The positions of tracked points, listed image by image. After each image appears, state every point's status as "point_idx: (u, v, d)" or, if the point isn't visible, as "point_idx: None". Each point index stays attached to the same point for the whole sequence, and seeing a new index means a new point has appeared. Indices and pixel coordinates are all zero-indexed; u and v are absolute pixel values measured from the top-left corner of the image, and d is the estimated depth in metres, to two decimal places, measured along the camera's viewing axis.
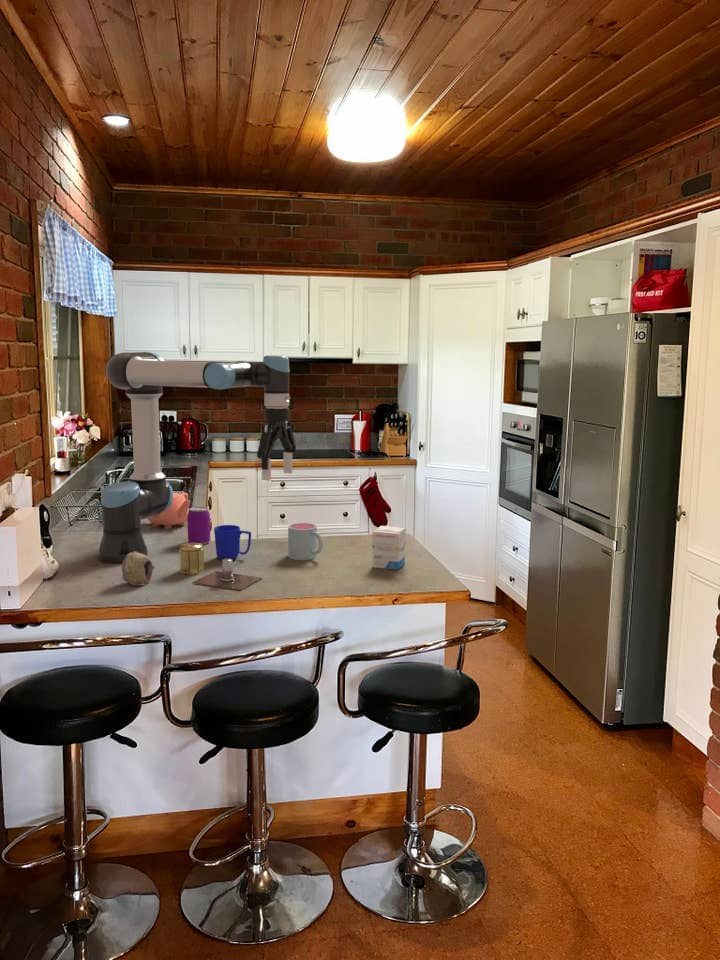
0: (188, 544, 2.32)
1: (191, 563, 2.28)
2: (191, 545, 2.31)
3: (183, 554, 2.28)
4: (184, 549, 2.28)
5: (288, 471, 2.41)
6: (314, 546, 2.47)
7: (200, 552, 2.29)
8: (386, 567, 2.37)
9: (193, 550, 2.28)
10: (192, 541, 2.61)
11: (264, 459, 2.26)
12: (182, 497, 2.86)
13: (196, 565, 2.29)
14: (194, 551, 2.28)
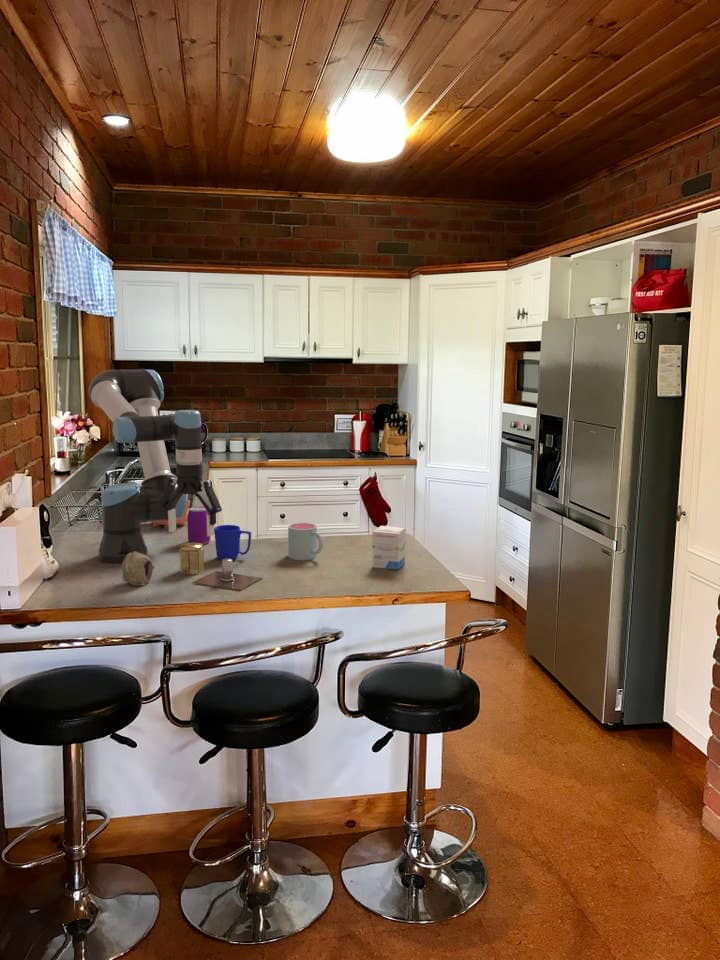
0: (188, 544, 2.32)
1: (191, 563, 2.28)
2: (191, 545, 2.31)
3: (183, 554, 2.28)
4: (184, 549, 2.28)
5: None
6: (314, 546, 2.47)
7: (200, 552, 2.29)
8: (386, 567, 2.37)
9: (193, 550, 2.28)
10: (192, 541, 2.61)
11: None
12: None
13: (196, 565, 2.29)
14: (194, 551, 2.28)
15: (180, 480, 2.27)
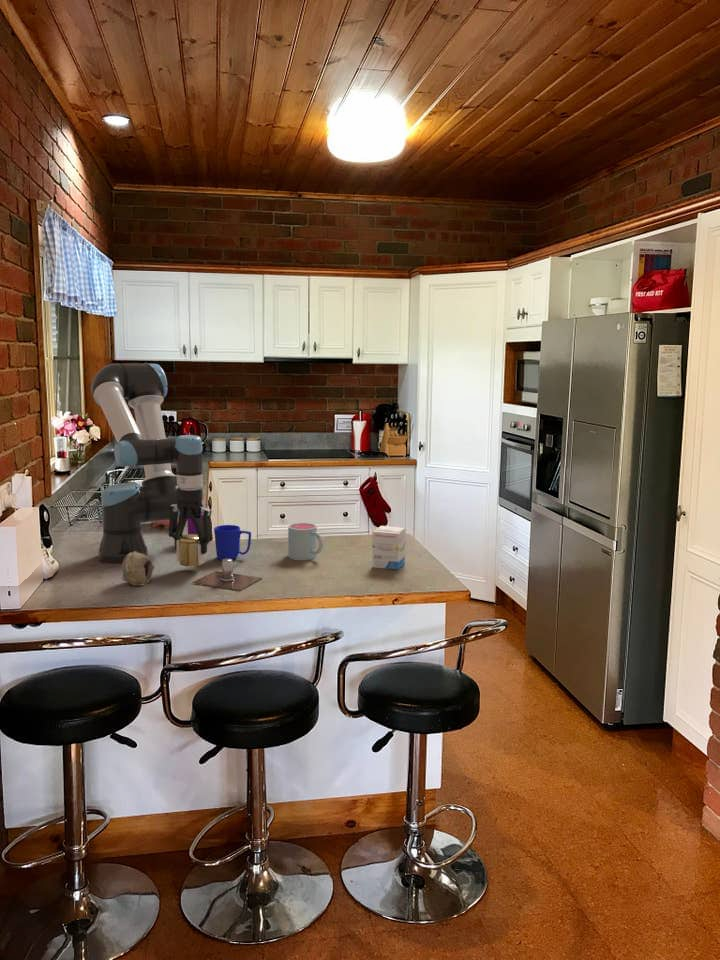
0: (187, 536, 2.32)
1: (190, 555, 2.28)
2: (190, 537, 2.31)
3: (182, 546, 2.28)
4: (183, 541, 2.28)
5: None
6: (314, 546, 2.47)
7: None
8: (386, 567, 2.37)
9: (192, 542, 2.28)
10: None
11: None
12: None
13: (195, 557, 2.29)
14: (193, 543, 2.28)
15: (180, 504, 2.29)
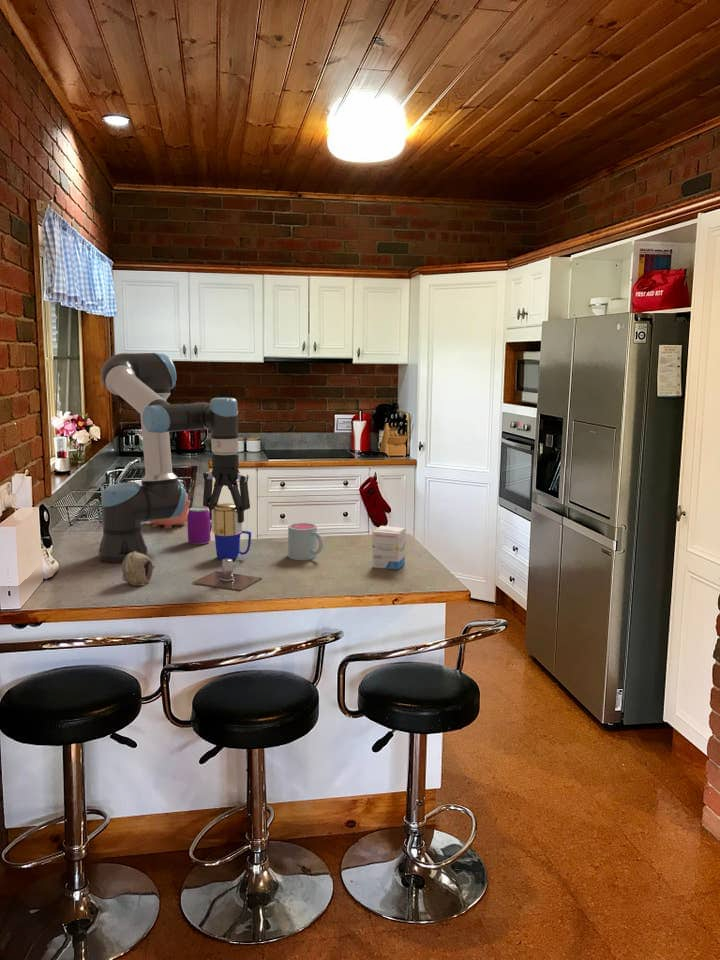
0: (223, 504, 2.20)
1: (226, 524, 2.16)
2: (226, 505, 2.19)
3: (218, 514, 2.16)
4: (219, 509, 2.16)
5: None
6: (314, 546, 2.47)
7: None
8: (386, 567, 2.37)
9: (228, 510, 2.16)
10: (192, 541, 2.61)
11: None
12: None
13: (232, 526, 2.17)
14: (230, 511, 2.16)
15: (215, 470, 2.17)
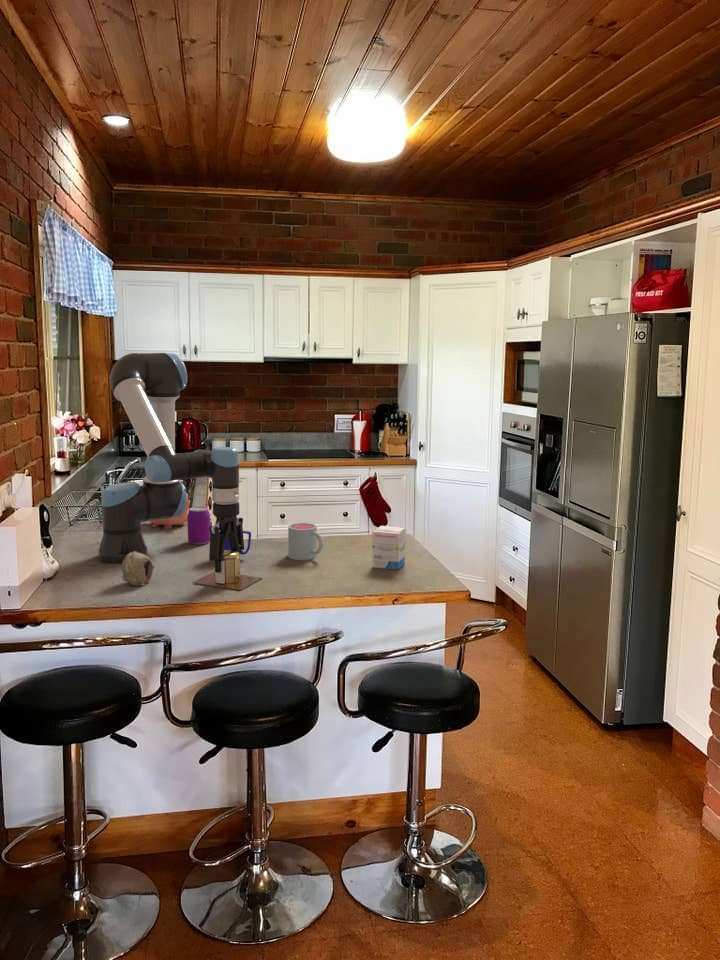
0: None
1: None
2: (227, 553, 2.21)
3: (236, 561, 2.20)
4: (236, 556, 2.20)
5: None
6: (314, 546, 2.47)
7: None
8: (386, 567, 2.37)
9: None
10: (192, 541, 2.61)
11: (217, 562, 2.17)
12: None
13: None
14: None
15: (224, 521, 2.17)
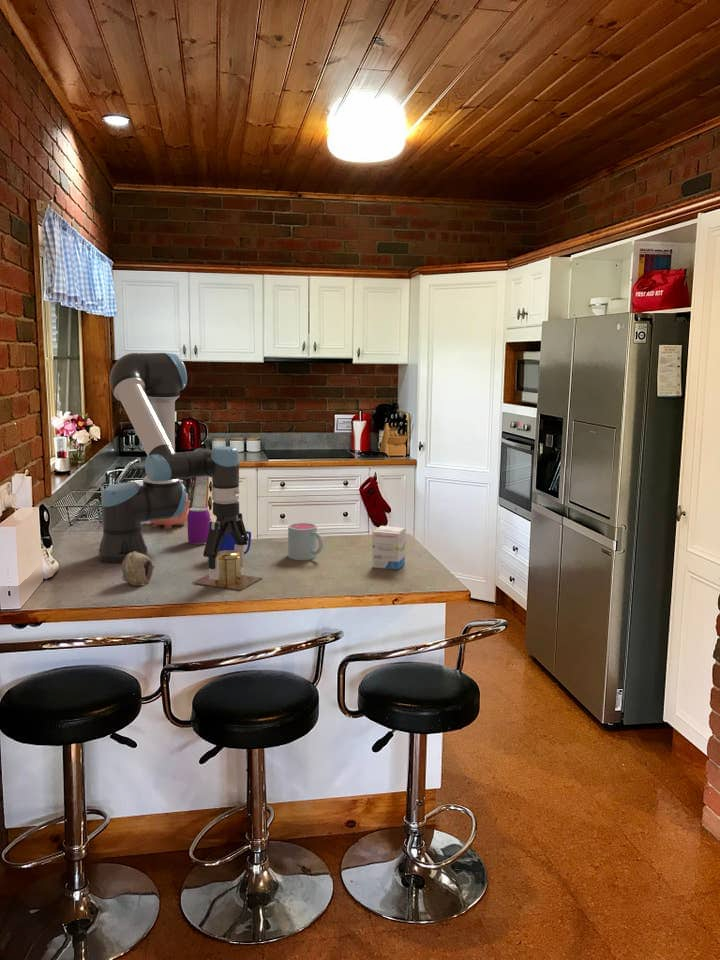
0: (223, 554, 2.20)
1: None
2: (227, 553, 2.21)
3: (237, 561, 2.20)
4: (237, 556, 2.20)
5: None
6: (314, 546, 2.47)
7: None
8: (386, 567, 2.37)
9: None
10: (192, 541, 2.61)
11: (211, 558, 2.14)
12: None
13: None
14: None
15: (224, 521, 2.17)
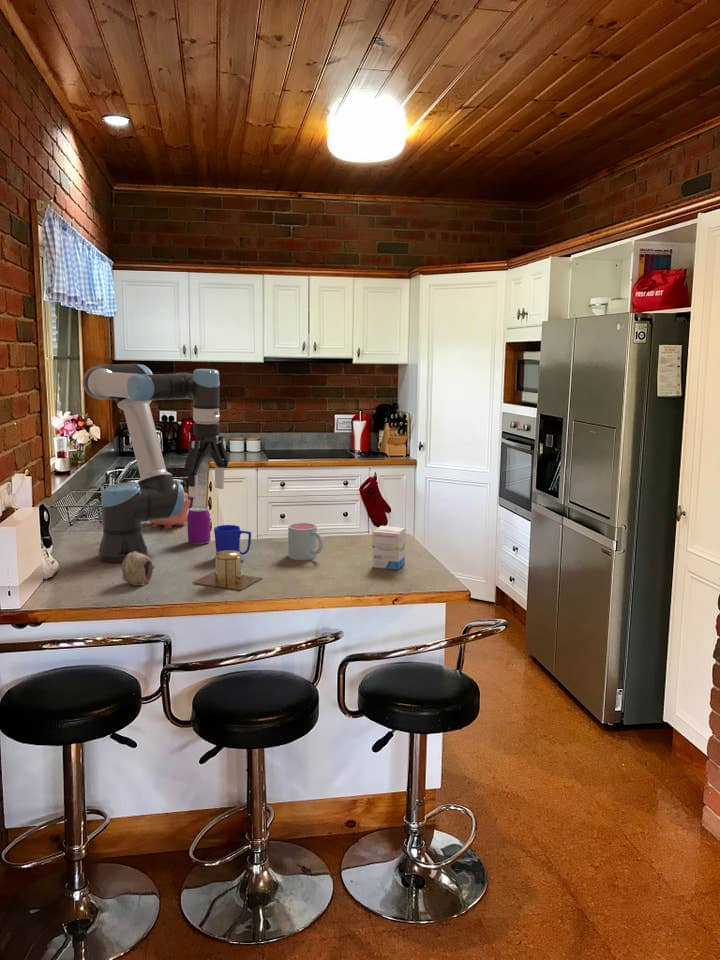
0: (223, 554, 2.20)
1: None
2: (227, 553, 2.21)
3: (237, 561, 2.20)
4: (237, 556, 2.20)
5: (219, 486, 2.36)
6: (314, 546, 2.47)
7: None
8: (386, 567, 2.37)
9: None
10: (192, 541, 2.61)
11: (190, 476, 2.21)
12: None
13: None
14: None
15: (204, 441, 2.24)
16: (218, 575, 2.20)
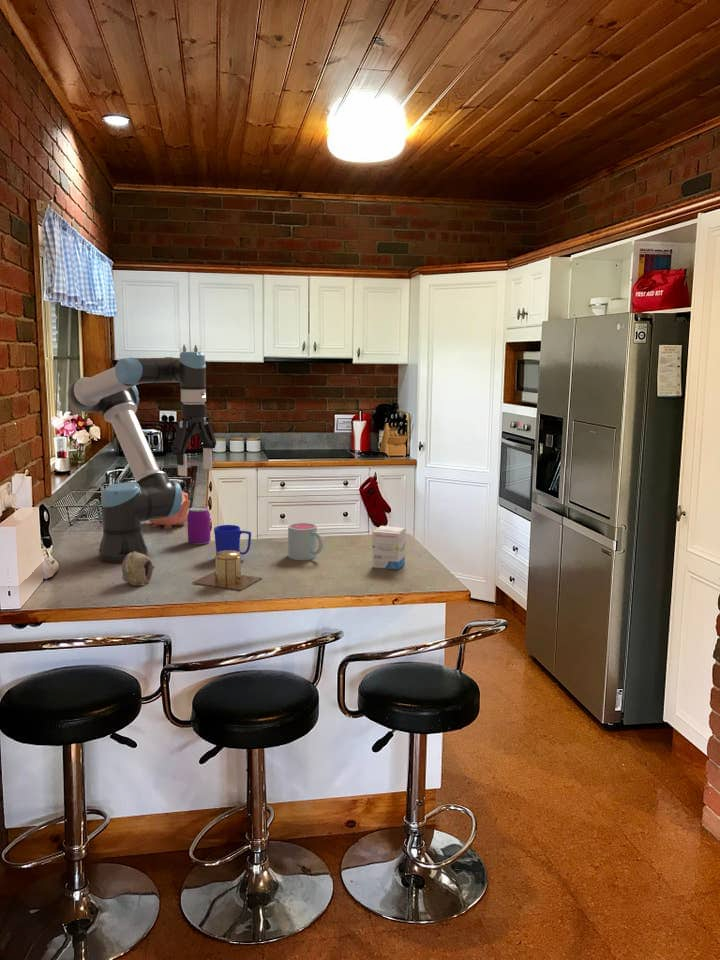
0: (223, 554, 2.20)
1: None
2: (227, 553, 2.21)
3: (237, 561, 2.20)
4: (237, 556, 2.20)
5: (208, 467, 2.42)
6: (314, 546, 2.47)
7: None
8: (386, 567, 2.37)
9: None
10: (192, 541, 2.61)
11: (179, 455, 2.28)
12: None
13: None
14: None
15: (192, 421, 2.31)
16: (218, 575, 2.20)
